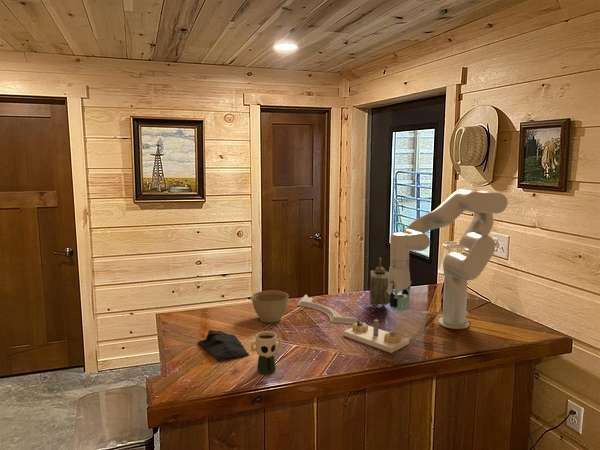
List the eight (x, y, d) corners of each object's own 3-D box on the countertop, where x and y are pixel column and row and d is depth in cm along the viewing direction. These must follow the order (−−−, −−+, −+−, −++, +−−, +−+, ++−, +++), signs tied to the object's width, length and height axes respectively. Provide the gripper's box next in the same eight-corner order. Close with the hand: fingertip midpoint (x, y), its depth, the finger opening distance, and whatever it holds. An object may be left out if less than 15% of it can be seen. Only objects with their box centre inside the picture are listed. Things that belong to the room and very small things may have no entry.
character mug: (254, 378, 156) (253, 341, 154) (248, 369, 162) (247, 333, 160) (285, 373, 160) (285, 336, 158) (277, 364, 166) (277, 329, 164)
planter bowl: (263, 311, 221) (263, 288, 219) (294, 316, 214) (294, 293, 212) (245, 322, 206) (244, 298, 205) (277, 328, 199) (277, 303, 198)
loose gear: (397, 303, 201) (397, 292, 200) (412, 306, 196) (412, 295, 195) (387, 308, 196) (386, 296, 195) (403, 312, 190) (402, 300, 190)
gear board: (362, 327, 200) (362, 309, 199) (408, 343, 184) (409, 324, 183) (343, 335, 192) (344, 316, 190) (391, 353, 176) (391, 332, 174)
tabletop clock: (369, 303, 231) (371, 253, 227) (388, 304, 230) (390, 254, 226) (370, 313, 217) (371, 260, 213) (390, 314, 216) (391, 261, 212)
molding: (363, 324, 206) (363, 318, 206) (341, 329, 200) (341, 323, 199) (308, 298, 241) (308, 293, 241) (288, 302, 234) (288, 296, 234)
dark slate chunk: (210, 365, 166) (210, 352, 166) (196, 342, 186) (196, 330, 185) (252, 357, 173) (251, 345, 172) (234, 336, 193) (234, 324, 192)
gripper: (403, 257, 201) (403, 297, 204) (379, 265, 189) (379, 307, 192) (419, 260, 196) (418, 300, 199) (395, 269, 184) (395, 312, 187)
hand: (399, 304), depth 196 cm, fingers closed on loose gear, 7 cm apart
